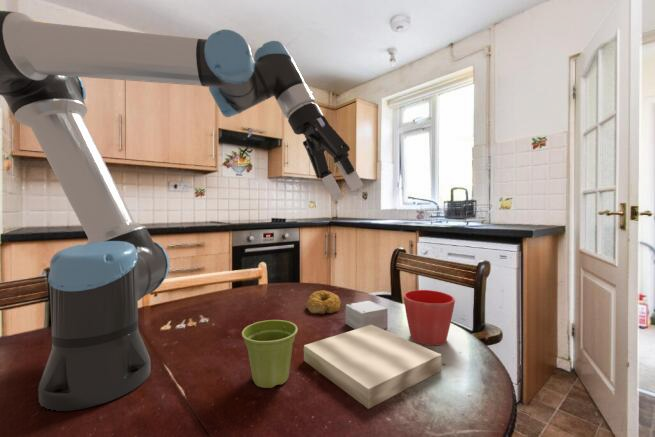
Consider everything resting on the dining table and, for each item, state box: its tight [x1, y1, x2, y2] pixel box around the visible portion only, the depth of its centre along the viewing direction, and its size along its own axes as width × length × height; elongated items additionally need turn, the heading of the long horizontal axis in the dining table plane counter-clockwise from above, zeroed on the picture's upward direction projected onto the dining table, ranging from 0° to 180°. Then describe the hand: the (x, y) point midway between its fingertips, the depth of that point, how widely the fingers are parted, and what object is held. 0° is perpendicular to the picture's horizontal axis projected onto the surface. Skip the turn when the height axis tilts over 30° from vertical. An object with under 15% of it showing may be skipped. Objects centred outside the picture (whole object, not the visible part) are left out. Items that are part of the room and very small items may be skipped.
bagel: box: [305, 290, 342, 315], centre depth 91 cm, size 10×11×5 cm
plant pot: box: [241, 319, 299, 389], centre depth 54 cm, size 9×9×9 cm
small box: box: [345, 300, 389, 330], centre depth 78 cm, size 8×8×5 cm
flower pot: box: [402, 289, 456, 346], centre depth 70 cm, size 11×11×10 cm
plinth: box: [303, 325, 442, 409], centre depth 58 cm, size 18×18×3 cm
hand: (347, 194), depth 70 cm, fingers open, 13 cm apart
